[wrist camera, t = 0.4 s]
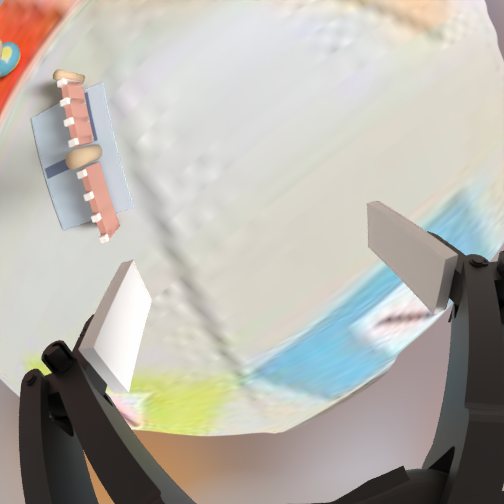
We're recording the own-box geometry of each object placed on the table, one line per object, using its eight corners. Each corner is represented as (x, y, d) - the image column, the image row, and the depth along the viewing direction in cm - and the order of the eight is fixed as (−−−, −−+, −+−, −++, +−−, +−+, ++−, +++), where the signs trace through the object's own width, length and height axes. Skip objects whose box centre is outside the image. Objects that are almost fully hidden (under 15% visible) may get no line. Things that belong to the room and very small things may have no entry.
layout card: (32, 118, 29) (30, 118, 29) (103, 82, 29) (102, 81, 29) (64, 229, 38) (63, 230, 38) (134, 207, 39) (133, 208, 38)
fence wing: (94, 163, 34) (76, 171, 29) (99, 161, 34) (82, 169, 29) (114, 227, 39) (101, 244, 34) (120, 225, 39) (107, 242, 34)
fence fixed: (104, 156, 34) (83, 165, 28) (91, 161, 34) (68, 172, 28) (87, 72, 28) (63, 65, 21) (73, 78, 28) (48, 74, 21)
